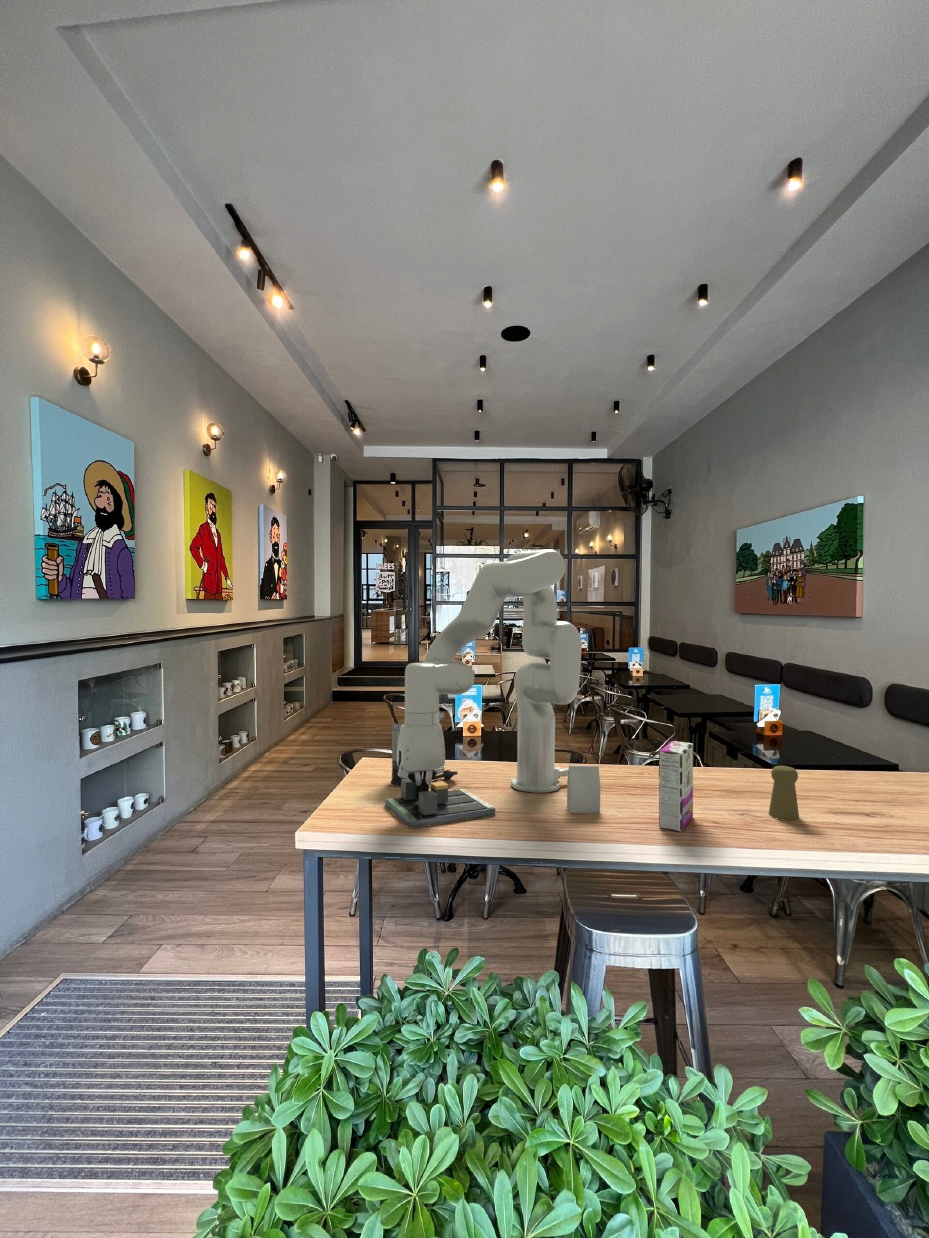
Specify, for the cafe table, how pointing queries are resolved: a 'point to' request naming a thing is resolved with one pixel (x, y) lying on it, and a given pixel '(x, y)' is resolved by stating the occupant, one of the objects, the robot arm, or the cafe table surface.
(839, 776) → the cafe table surface
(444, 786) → the block
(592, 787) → the grey boxy piece
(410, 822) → the panel
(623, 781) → the cafe table surface
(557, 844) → the cafe table surface
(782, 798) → the cork
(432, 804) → the breaker near
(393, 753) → the milk frother
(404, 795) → the block
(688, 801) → the candy bar box
